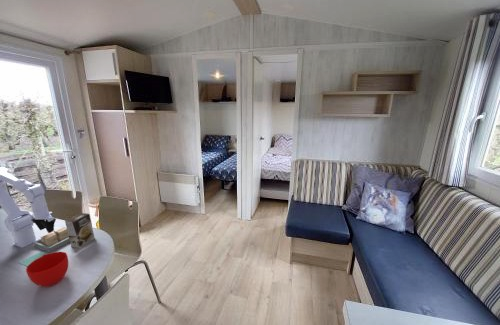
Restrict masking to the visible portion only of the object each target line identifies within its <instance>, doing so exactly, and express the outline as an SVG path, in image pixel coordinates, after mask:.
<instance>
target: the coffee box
mask: <svg viewBox="0 0 500 325" xmlns="http://www.w3.org/2000/svg"><path fill="white" fill-rule="evenodd" d="M64 223H65V227H66V228H67V232H68V235H69V240H70V242H69V244H70V247H72V248H82V247H83V246H85V245H86V244H88V243H90V242H91V241H93V240H94V239H95V237H96V236H95V233H94V229H93V224H92V219H91V215H90V213H84V212H80V213H78V214H76V215H73V216H71V217H69V218H68V219H65V220H64Z"/></svg>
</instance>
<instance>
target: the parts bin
mask: <svg viewBox="0 0 500 325" xmlns="http://www.w3.org/2000/svg"><path fill="white" fill-rule="evenodd" d="M32 244H33V246H34V247H35V248H37V249H40V250H41V251H42V250H43V251H44V252H46V253H53V252H55V251H56V250H58V249H59V248H62V247H63V246H65V245H68V244H70V240H69V238H67V239H65V240H63V241H61V242H60V241H58V243H57V244H55V245H53V246H51V247H49V246H46V245H43V243H42V240H41V238H39V240H37V241H35V242H33V243H32Z"/></svg>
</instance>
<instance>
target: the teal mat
mask: <svg viewBox="0 0 500 325" xmlns="http://www.w3.org/2000/svg"><path fill="white" fill-rule="evenodd" d="M45 254H46V255H47V254H49V252H46V251H42V250H41V251H39V252H37V253H35V254H33V255H31V256H29V257H27V258H25V259H23V260H21V261H19V262H18V264H20V265H23V266H25V267H26V268H27V267H28V265H29V264H30V263H32V262H33V261H34V260H36V259H38V258H40V257H42V256H43V255H45Z"/></svg>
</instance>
